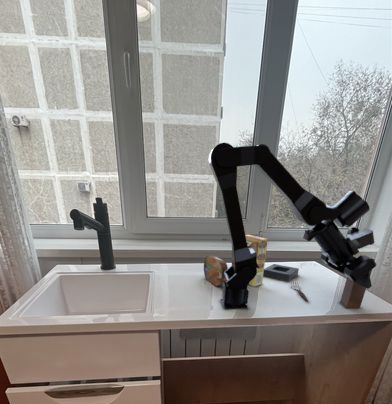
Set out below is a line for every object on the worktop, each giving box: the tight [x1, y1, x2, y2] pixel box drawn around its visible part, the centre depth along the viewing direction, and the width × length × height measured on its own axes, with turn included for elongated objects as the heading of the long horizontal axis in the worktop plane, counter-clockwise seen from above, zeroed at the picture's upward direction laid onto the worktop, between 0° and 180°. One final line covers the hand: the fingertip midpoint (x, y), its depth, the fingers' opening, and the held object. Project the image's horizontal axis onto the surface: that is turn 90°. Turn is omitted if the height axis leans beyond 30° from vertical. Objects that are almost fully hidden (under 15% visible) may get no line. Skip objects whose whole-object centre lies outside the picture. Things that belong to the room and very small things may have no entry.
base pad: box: [263, 263, 300, 282], centre depth 107 cm, size 10×10×2 cm
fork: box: [290, 280, 309, 302], centre depth 91 cm, size 3×16×2 cm, turn 179°
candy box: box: [245, 234, 268, 287], centre depth 96 cm, size 9×4×15 cm, turn 33°
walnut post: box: [339, 269, 373, 309], centre depth 80 cm, size 4×4×13 cm
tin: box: [203, 255, 229, 287], centre depth 97 cm, size 15×3×8 cm, turn 21°
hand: (360, 281), depth 80 cm, fingers open, 9 cm apart
